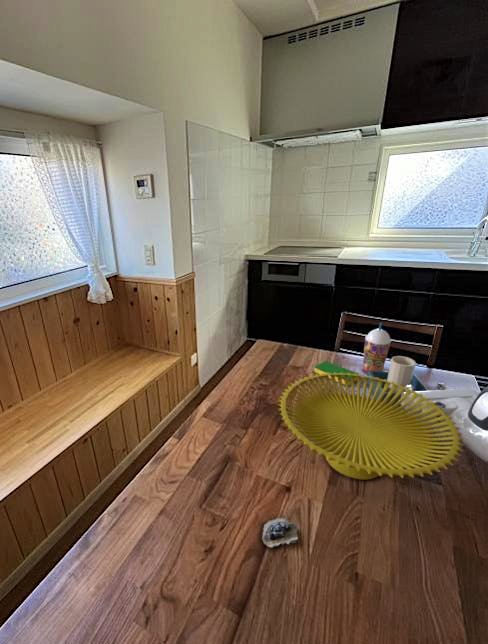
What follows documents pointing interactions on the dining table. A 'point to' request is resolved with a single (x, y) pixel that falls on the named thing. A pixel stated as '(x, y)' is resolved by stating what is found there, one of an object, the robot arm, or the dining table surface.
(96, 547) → the dining table surface
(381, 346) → the smoothie
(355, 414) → the yellow slatted bowl
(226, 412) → the dining table surface
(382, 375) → the basin
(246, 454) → the dining table surface
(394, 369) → the cup
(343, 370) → the dish sponge
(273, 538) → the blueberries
